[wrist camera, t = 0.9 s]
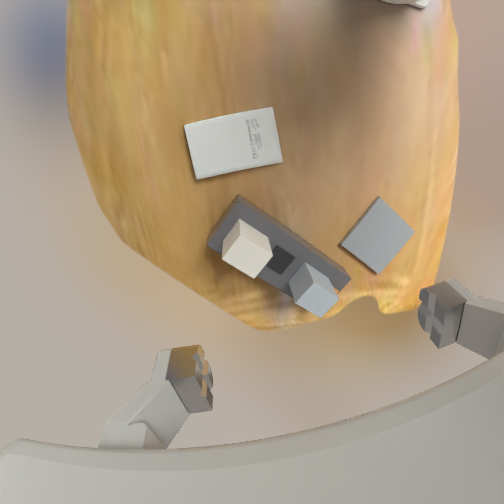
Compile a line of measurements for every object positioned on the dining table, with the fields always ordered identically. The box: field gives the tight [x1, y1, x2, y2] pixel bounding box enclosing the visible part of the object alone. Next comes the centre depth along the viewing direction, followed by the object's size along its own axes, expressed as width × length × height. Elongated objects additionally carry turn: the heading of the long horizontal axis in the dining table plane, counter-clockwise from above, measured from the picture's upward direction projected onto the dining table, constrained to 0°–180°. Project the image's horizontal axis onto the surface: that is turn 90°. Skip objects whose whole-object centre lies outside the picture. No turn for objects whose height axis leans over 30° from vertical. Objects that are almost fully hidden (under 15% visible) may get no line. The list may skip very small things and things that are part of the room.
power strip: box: [207, 195, 351, 298], centre depth 48 cm, size 8×22×4 cm, turn 54°
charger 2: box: [288, 262, 339, 318], centre depth 45 cm, size 4×5×6 cm
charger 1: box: [222, 219, 273, 278], centre depth 42 cm, size 4×5×8 cm
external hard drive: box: [184, 107, 283, 180], centre depth 41 cm, size 2×8×12 cm
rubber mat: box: [340, 196, 415, 274], centre depth 49 cm, size 10×10×1 cm
